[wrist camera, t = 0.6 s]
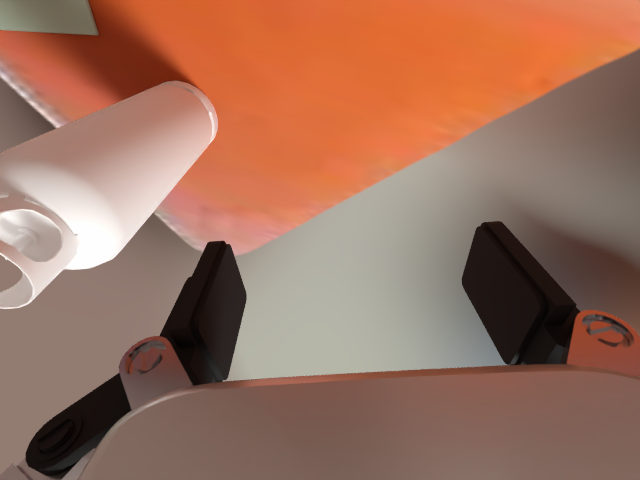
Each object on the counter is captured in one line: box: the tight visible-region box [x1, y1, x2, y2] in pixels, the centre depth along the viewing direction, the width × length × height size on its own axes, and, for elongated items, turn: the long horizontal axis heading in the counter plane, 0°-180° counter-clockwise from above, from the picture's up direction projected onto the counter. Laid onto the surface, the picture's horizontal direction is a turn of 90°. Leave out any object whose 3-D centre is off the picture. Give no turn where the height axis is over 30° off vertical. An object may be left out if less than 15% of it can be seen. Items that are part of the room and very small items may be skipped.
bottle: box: [0, 80, 218, 309], centre depth 25 cm, size 8×8×28 cm
